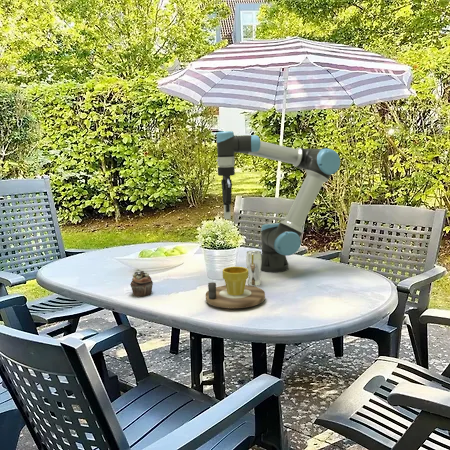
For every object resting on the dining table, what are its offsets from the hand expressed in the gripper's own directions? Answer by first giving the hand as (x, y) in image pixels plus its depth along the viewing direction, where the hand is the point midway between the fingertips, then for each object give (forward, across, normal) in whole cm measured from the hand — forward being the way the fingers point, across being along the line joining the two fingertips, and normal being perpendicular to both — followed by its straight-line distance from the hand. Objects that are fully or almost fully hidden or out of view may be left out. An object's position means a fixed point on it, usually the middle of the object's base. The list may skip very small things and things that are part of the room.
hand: (227, 218), depth 216 cm
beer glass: (+30, +8, +10) cm, 32 cm away
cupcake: (+30, +8, -40) cm, 50 cm away
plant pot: (+26, +28, -3) cm, 39 cm away
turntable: (+28, +28, -3) cm, 40 cm away
